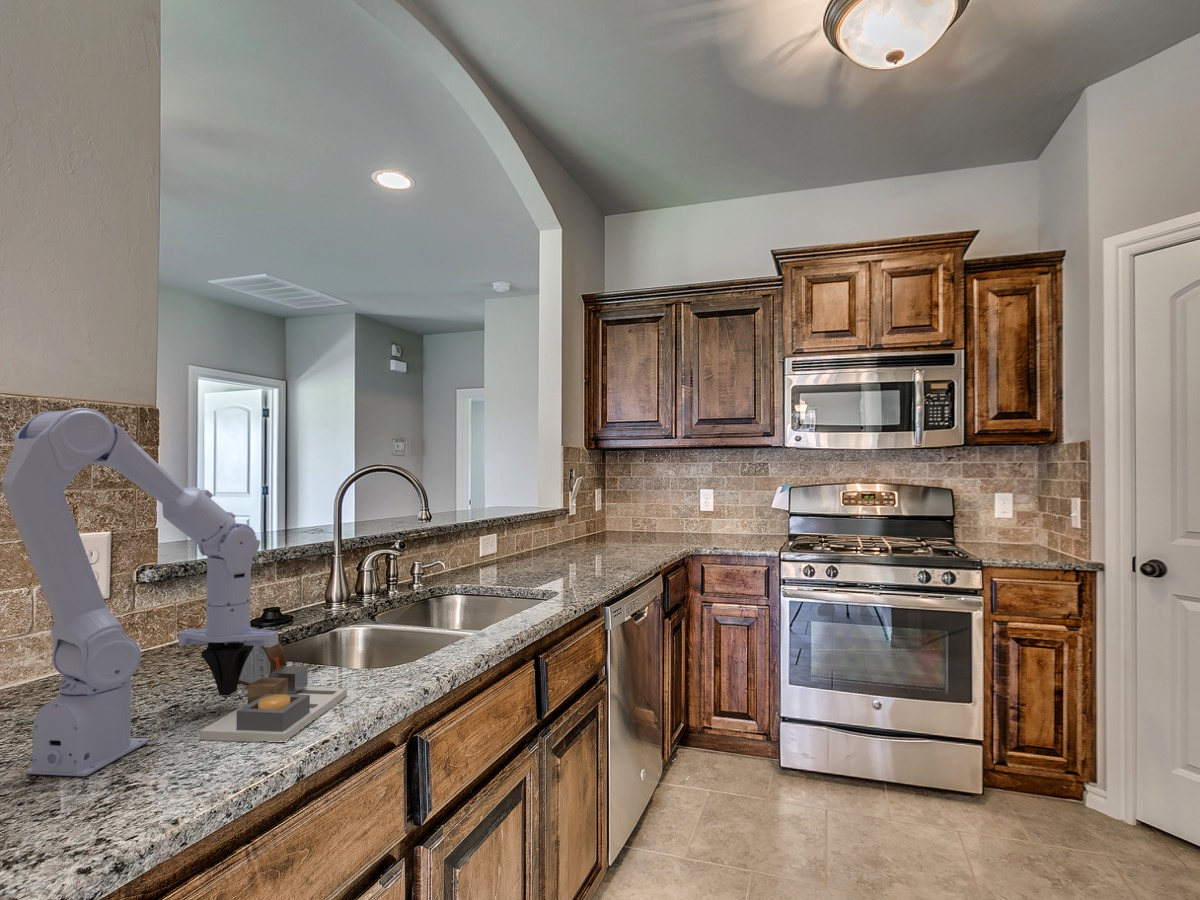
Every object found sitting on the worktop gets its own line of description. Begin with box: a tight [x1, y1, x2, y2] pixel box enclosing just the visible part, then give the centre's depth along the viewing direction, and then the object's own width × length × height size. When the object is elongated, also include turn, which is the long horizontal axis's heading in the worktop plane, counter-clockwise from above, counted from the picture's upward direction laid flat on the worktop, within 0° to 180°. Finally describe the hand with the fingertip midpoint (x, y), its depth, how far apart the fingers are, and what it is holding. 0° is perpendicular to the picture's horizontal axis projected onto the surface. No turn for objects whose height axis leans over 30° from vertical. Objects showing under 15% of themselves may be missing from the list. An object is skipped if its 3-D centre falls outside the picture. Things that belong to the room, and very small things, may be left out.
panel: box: [199, 686, 348, 743], centre depth 93 cm, size 17×12×4 cm
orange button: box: [258, 694, 290, 710], centre depth 88 cm, size 4×4×2 cm
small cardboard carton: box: [247, 678, 288, 704], centre depth 94 cm, size 4×4×3 cm
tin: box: [238, 641, 287, 686], centre depth 107 cm, size 15×3×8 cm, turn 59°
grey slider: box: [271, 665, 308, 693], centre depth 100 cm, size 4×4×3 cm
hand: (227, 693), depth 95 cm, fingers closed
